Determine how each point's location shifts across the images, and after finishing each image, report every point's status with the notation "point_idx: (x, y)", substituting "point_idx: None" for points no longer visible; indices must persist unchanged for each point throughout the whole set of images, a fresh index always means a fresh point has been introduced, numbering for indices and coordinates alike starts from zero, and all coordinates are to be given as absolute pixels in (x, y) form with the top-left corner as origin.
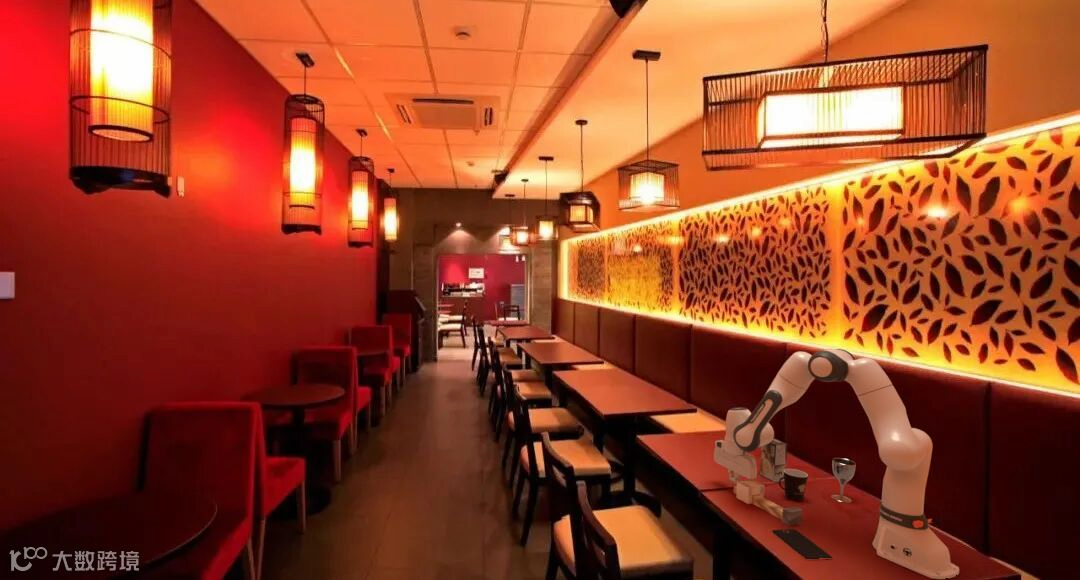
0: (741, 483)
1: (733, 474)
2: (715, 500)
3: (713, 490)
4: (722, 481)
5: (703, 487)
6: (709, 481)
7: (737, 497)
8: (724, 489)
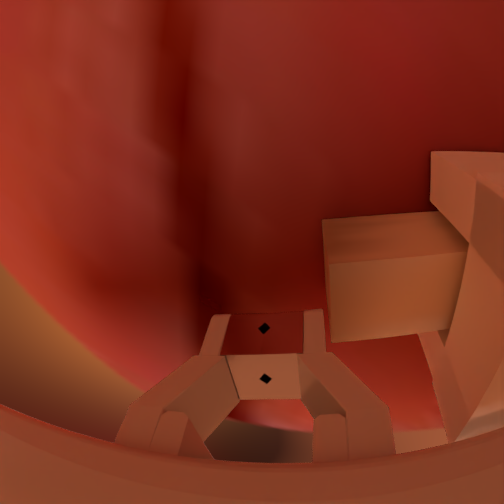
0: (497, 427)
1: (209, 381)
2: None
3: None
4: (60, 216)
5: None
6: (80, 314)
7: None
8: (229, 309)
